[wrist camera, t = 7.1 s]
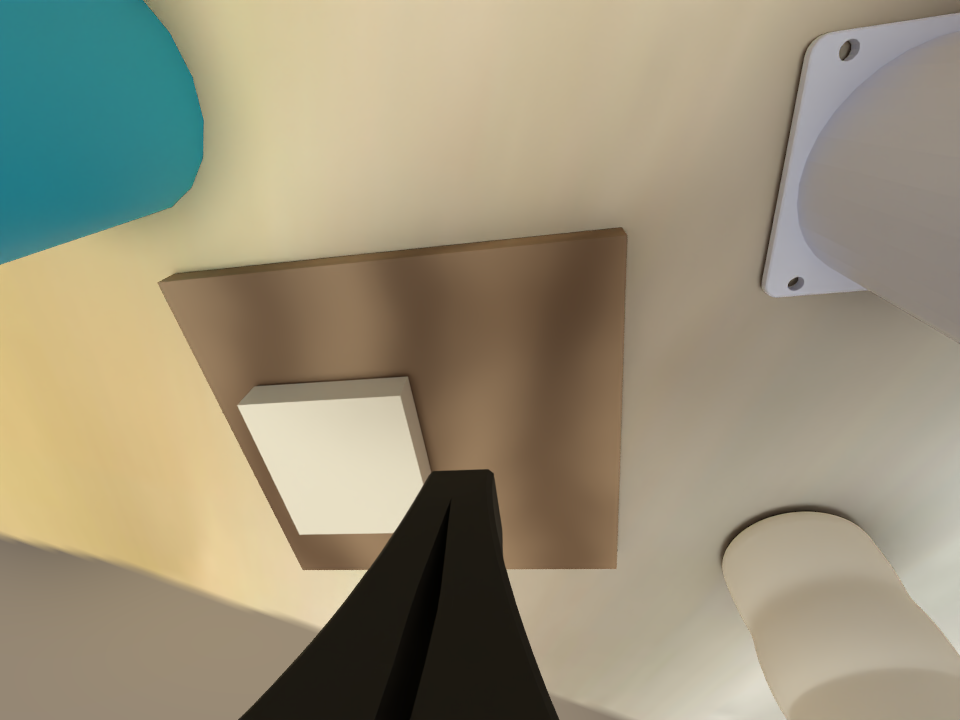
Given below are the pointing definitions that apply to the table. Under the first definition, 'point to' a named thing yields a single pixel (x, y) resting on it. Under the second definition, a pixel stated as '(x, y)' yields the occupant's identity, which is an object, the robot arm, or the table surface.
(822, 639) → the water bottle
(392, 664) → the robot arm
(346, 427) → the tile
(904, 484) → the table surface
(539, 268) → the board
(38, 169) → the mug
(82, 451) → the table surface
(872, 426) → the table surface
